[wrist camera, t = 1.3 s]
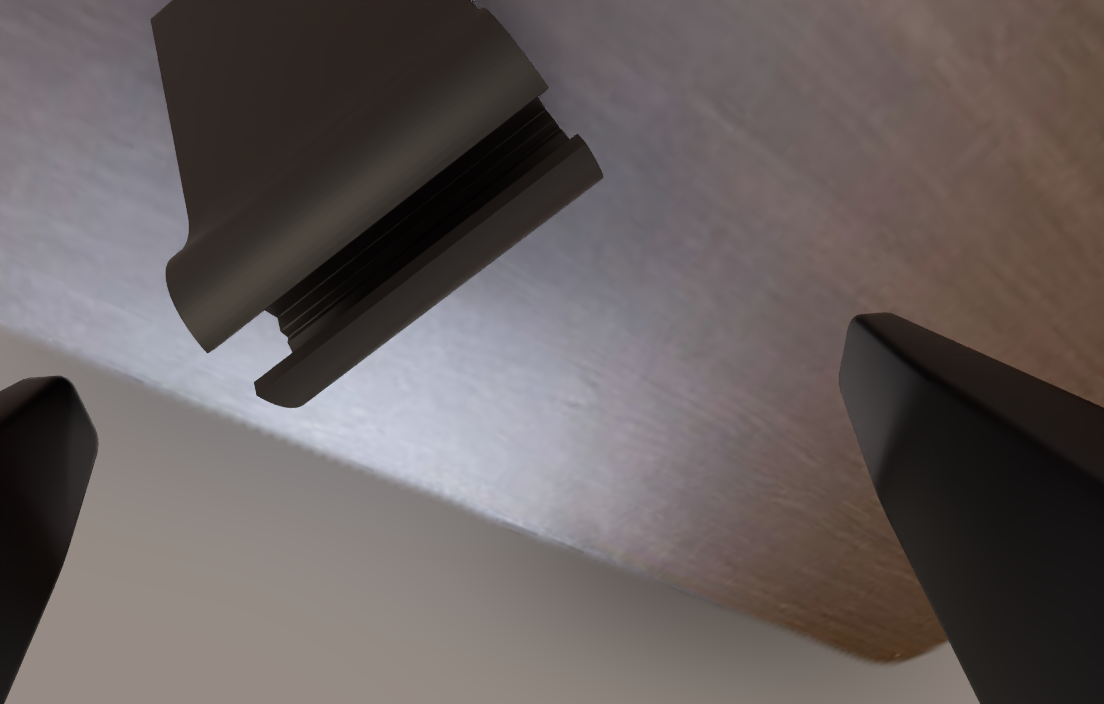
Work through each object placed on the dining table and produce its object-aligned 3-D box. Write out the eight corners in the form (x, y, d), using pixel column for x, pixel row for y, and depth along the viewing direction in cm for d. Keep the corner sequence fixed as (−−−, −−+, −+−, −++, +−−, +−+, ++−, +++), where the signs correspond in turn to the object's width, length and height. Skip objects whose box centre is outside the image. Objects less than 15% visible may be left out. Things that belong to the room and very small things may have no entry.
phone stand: (152, 15, 19) (-73, 116, 9) (343, -144, 18) (340, -235, 8) (392, 278, 24) (428, 546, 13) (551, 157, 23) (717, 340, 13)
